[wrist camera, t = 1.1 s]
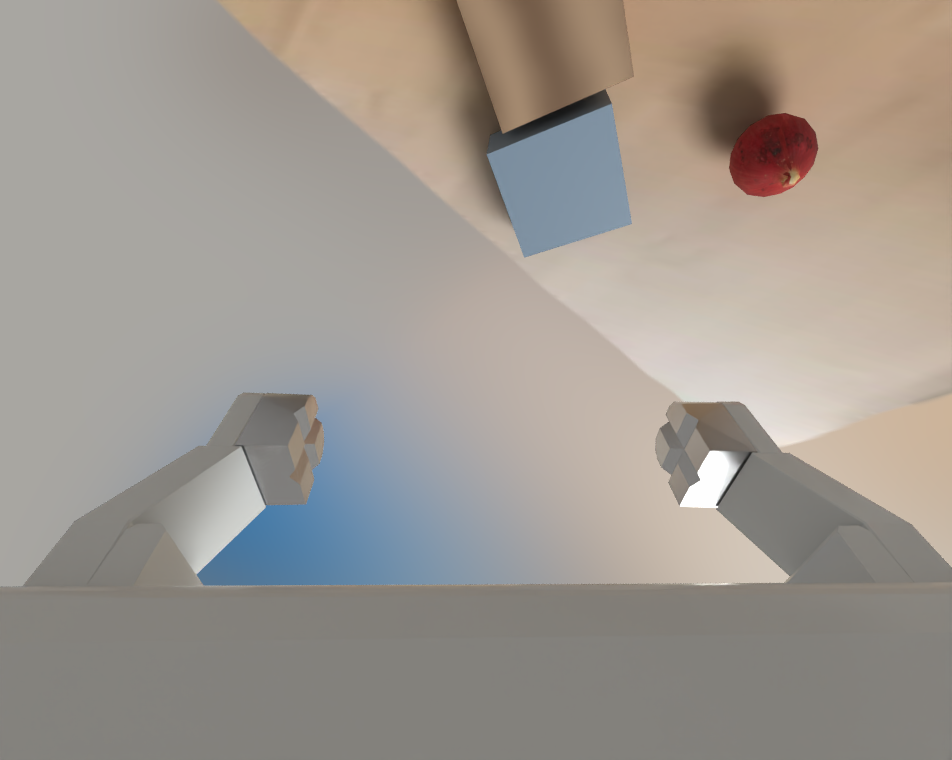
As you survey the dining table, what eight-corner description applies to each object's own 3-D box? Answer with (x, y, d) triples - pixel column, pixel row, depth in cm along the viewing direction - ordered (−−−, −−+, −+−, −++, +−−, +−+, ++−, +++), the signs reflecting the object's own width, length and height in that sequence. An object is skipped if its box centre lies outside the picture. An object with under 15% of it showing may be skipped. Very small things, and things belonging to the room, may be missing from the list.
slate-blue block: (603, 86, 36) (611, 103, 32) (623, 199, 42) (631, 223, 39) (490, 134, 39) (486, 154, 36) (524, 232, 46) (524, 257, 42)
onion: (709, 131, 37) (740, 167, 32) (786, 84, 34) (834, 115, 29) (728, 188, 40) (759, 229, 35) (800, 149, 38) (846, 188, 32)
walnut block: (596, -114, 28) (605, -119, 25) (623, 61, 35) (633, 76, 31) (456, -31, 32) (447, -25, 28) (505, 114, 38) (502, 133, 34)
